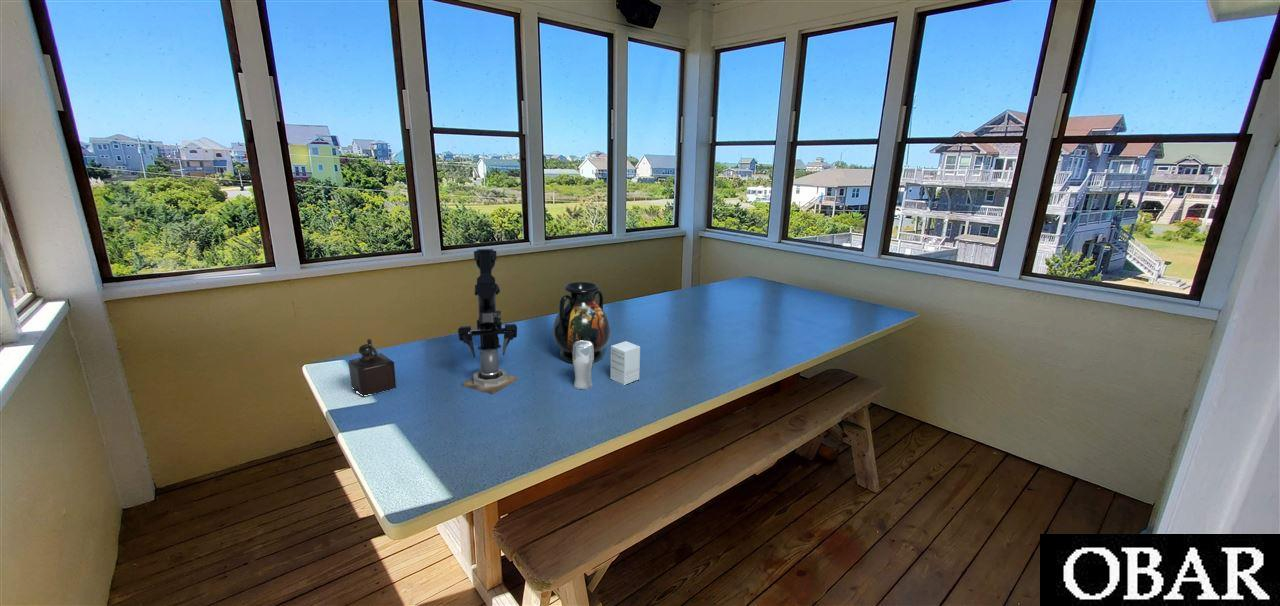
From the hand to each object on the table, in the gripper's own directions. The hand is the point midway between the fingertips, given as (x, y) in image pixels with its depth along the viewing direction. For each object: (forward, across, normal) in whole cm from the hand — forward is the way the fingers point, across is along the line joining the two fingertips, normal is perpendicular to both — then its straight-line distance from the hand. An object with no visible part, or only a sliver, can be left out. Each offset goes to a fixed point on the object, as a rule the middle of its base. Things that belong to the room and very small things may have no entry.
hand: (489, 355), depth 168 cm
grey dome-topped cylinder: (+6, 0, +7) cm, 9 cm away
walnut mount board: (+7, 0, +7) cm, 10 cm away
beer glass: (+13, +30, +1) cm, 32 cm away
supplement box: (+12, +44, +2) cm, 46 cm away
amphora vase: (-5, +34, +20) cm, 39 cm away
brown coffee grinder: (+6, -35, +8) cm, 36 cm away
